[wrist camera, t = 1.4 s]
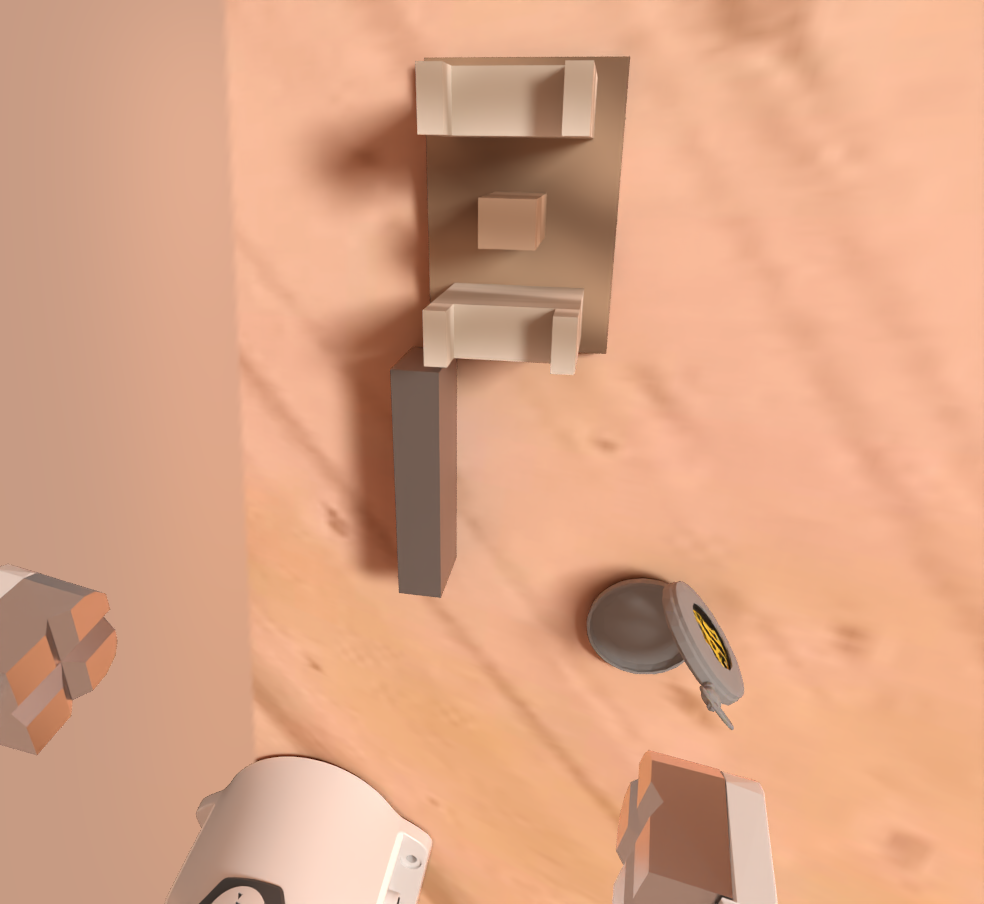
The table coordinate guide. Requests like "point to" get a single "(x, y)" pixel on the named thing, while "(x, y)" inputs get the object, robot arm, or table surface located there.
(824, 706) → the table surface
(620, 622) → the pocket watch
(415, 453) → the long grey beam
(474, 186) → the display stand
